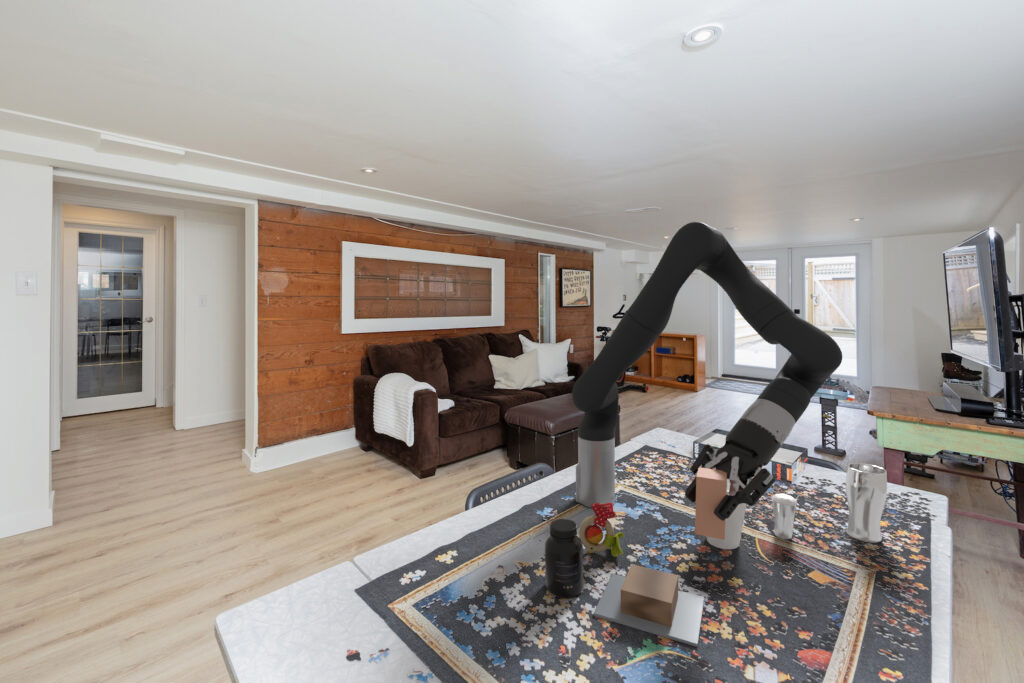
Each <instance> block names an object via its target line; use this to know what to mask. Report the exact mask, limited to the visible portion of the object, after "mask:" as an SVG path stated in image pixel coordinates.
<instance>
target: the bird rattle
mask: <svg viewBox="0 0 1024 683" xmlns="http://www.w3.org/2000/svg"><path fill="white" fill-rule="evenodd" d="M591 507H592V508H591ZM591 507H590V508H591V509H592V510H593V513H594V515H589V516H587V517H585V518H584V519H583V520H582V521H581V523H580V525H579V527H578V537H579V538H580V540H581V541H582V544H583V547H585V549H586V550H587V553H588V554H593V553H599V552H600V553H601V552H604V551H606V550H607V549H610V553H611V556H612V557H614V558H617V557H618V556H622V555H623V554H624V552H623V550H622V548H621V546H620V538H624V537H625V535H624V533H623V532H620V531H619V532H617V533H615V530H614V528H613V525H612V523H611V522H610V521H609V519H612V518H615V517H616V514H617V512H616V511H614V504H612V503H606V504H601V503H593V504H592V505H591ZM602 528H603V529H602ZM604 531H605V532H606V533H605V534H604Z"/></svg>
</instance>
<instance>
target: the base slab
mask: <svg viewBox="0 0 1024 683" xmlns="http://www.w3.org/2000/svg"><path fill="white" fill-rule="evenodd" d="M625 577H626V578H625V581H624V583H623V585H622V588H621V613H624V614H628V615H631V616H635V617H638V618H641V619H645V620H648V621H652V622H655V623H659V624H662V625H666V626H669V627H672V622H673V618H674V614H675V609H676V605H677V600H678V590H679V575H677V574H675V573H674V574H673V573H669V572H665V571H661V570H657V569H653V568H650V567H645V566H641V565H637V564H632V563H631V564H630V567H629V570H628V571H627V574H626V576H625Z"/></svg>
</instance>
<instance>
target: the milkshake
mask: <svg viewBox="0 0 1024 683" xmlns="http://www.w3.org/2000/svg"><path fill="white" fill-rule="evenodd" d="M801 494H802V493H801V491H799V493H798V494H797V496H796V498H795V497H793V496H791V495H790V494H786V493H775V494H774V495H772V497H771V499H772V500H771V501H772V510H773V511H772V512H773V522H774V523H773V524H774V536H776V537H777V538H779V539H782V540H791V539H792V537H793V529H794V522H795V515H796V509H797V503H798V502H797V501H798V499H799V497H800V495H801Z"/></svg>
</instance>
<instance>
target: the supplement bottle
mask: <svg viewBox="0 0 1024 683" xmlns="http://www.w3.org/2000/svg"><path fill="white" fill-rule="evenodd" d="M544 556H545V557H544V559H545V560H544V561H545V564H544V565H545V585H546V586H545V587H546V589H547V591H548V592H549V593H550V594H551V595H552V596H555V597H557V598H561V599H571V598H575V597H576V596H578V595H579V594H581V593H582V591H583V589H584V545H583V544H582V541H581V540H580V538H579V532H578V526H577V523H576V522H575V521H574V520H572V519H567V518H558V519H554V520H553V521H552V522H550V524H549V535H548V536H547V538H546V540H545V542H544Z"/></svg>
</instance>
